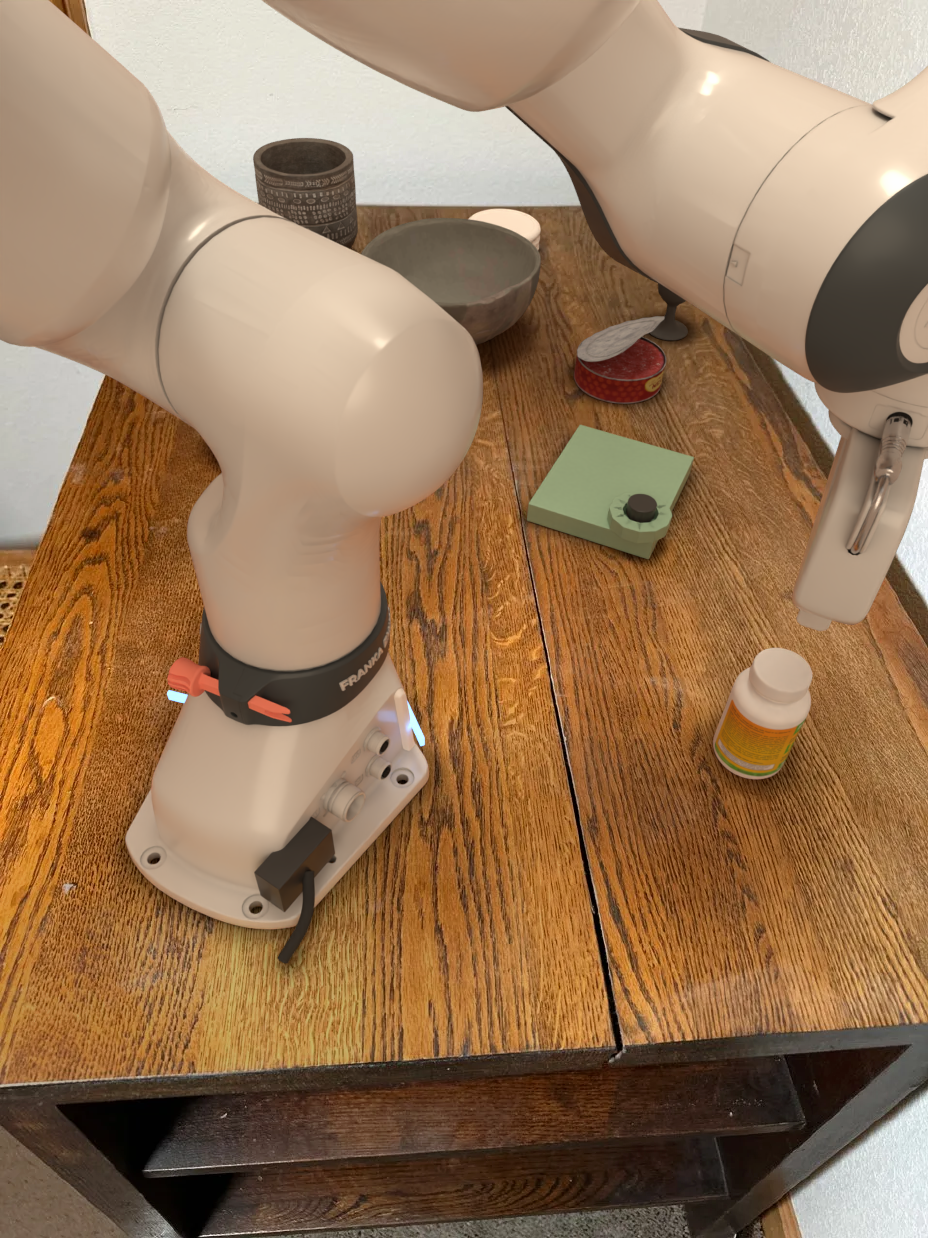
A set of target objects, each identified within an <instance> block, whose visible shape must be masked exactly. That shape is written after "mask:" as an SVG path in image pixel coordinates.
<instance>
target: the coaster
mask: <svg viewBox="0 0 928 1238" xmlns="http://www.w3.org/2000/svg"><path fill="white" fill-rule="evenodd" d="M468 219H470V220H477V221H483V222H487V223H491V224H495V225H498V226H501V227H504V228H507V229H509V230H512V231H514V232H516V233H518V234H520V235H521V236H523V237H525V238H526V239H528V240H529V241H530V242H531V243H532V244H533V245H534V246H535V247H536V248H537V250H538V251H539V250H540V241H541V235H540V234H541V224H540V223H539V221H538V220H537V219H536V218H535V217H533V216H532V215H530V214H529V213H526V212H523V211H520V210H516V209H510V208H488V209H484V210H481V211H478V212H476V213H474V214H472V215H470V217H469V218H468Z"/></svg>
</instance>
